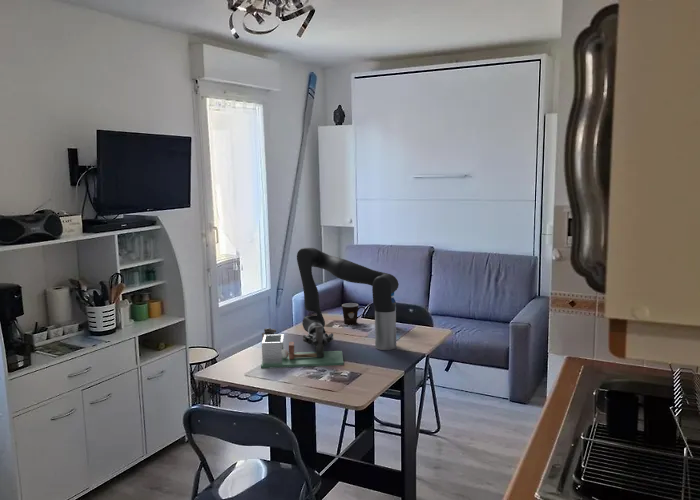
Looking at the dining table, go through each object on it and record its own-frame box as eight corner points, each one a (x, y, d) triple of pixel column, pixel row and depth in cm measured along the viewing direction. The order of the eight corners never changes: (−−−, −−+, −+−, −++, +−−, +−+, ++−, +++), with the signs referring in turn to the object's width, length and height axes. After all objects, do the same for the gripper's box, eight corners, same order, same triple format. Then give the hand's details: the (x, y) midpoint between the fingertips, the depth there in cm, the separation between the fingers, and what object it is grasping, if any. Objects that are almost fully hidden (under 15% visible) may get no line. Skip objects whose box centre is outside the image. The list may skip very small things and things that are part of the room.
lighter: (260, 349, 262) (260, 328, 261) (265, 347, 265) (264, 326, 264) (275, 352, 259) (274, 330, 257) (280, 350, 262) (279, 328, 260)
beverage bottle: (396, 325, 298) (396, 287, 296) (396, 330, 290) (395, 291, 287) (379, 325, 299) (379, 287, 296) (379, 330, 291) (378, 291, 288)
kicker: (323, 354, 250) (323, 324, 248) (323, 358, 245) (323, 328, 243) (289, 355, 249) (288, 326, 247) (289, 359, 244) (288, 329, 242)
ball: (290, 351, 248) (283, 346, 248) (290, 354, 244) (282, 349, 244) (285, 359, 248) (277, 353, 248) (284, 362, 244) (277, 356, 244)
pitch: (341, 353, 256) (341, 350, 256) (343, 365, 240) (343, 362, 240) (264, 355, 254) (264, 353, 254) (261, 368, 238) (260, 365, 238)
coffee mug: (340, 325, 301) (339, 306, 300) (345, 321, 309) (344, 302, 308) (361, 326, 298) (361, 307, 296) (366, 322, 306) (365, 303, 305)
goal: (284, 354, 252) (284, 334, 251) (283, 363, 240) (282, 342, 239) (265, 354, 252) (264, 334, 251) (262, 364, 240) (261, 343, 239)
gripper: (300, 325, 259) (303, 335, 242) (332, 323, 261) (336, 333, 244) (301, 341, 260) (303, 353, 243) (332, 339, 262) (337, 351, 245)
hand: (320, 343), depth 243 cm, fingers closed on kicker, 3 cm apart
